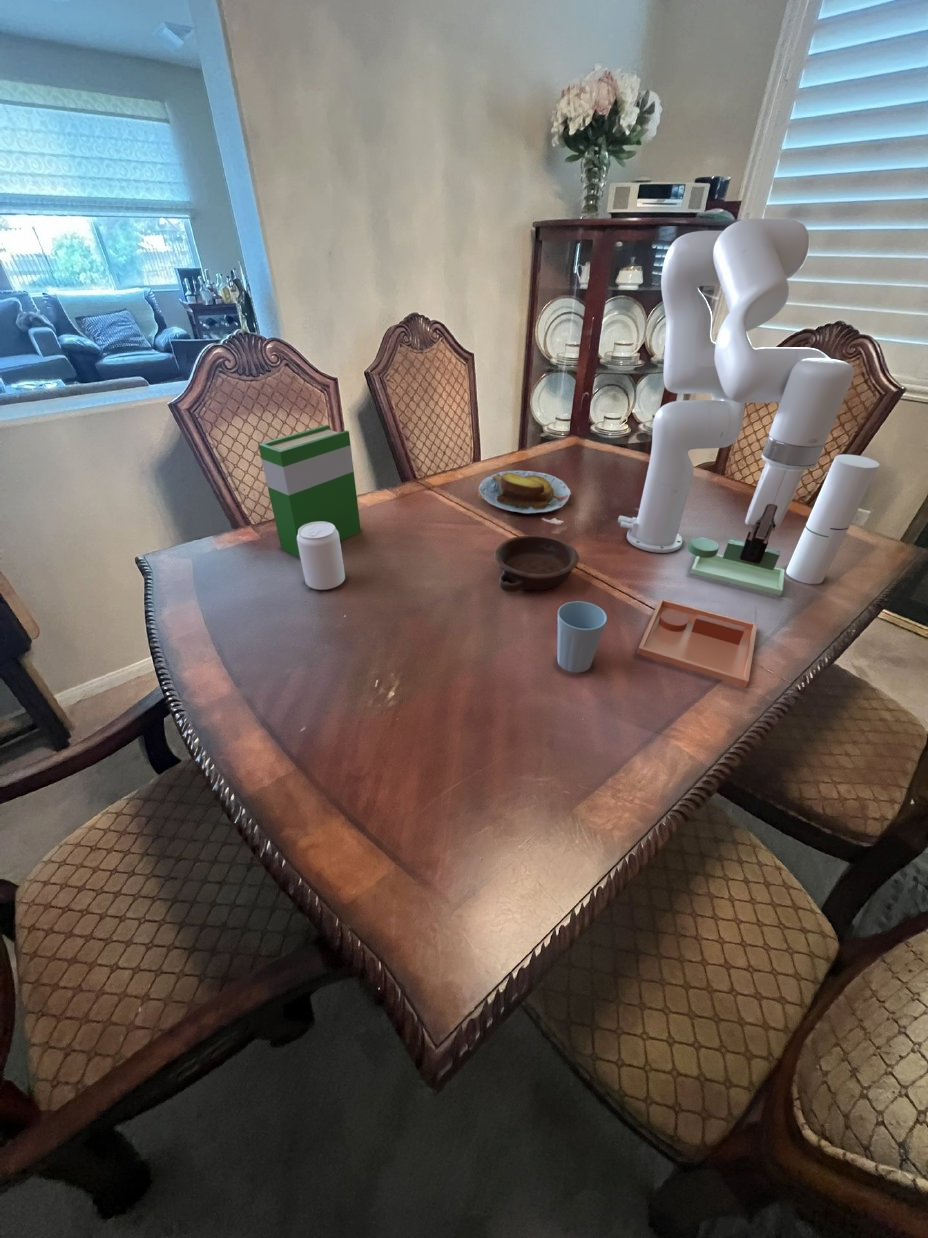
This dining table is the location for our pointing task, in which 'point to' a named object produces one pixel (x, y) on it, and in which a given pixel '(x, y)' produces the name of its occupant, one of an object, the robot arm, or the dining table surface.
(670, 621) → the terracotta cylinder and block
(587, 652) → the cup
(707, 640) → the terracotta tray
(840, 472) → the cylindrical container
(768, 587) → the sage tray
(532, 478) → the food on plate
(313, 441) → the hardback book
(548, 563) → the dish
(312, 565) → the beverage can
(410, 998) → the dining table surface
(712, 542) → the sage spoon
